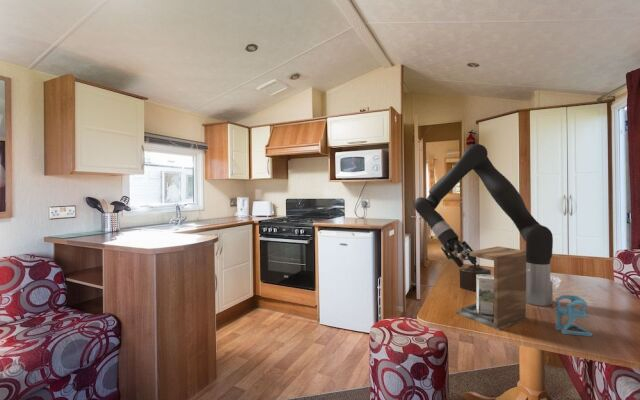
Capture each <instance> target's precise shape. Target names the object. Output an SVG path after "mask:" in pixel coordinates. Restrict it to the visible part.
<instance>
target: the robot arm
mask: <svg viewBox="0 0 640 400" xmlns="http://www.w3.org/2000/svg"><path fill="white" fill-rule="evenodd" d="M471 171H474V173H476V175H477V177H479V179H480V180H481V182H482V183H483V185H484V186H485V188H486V190H487V191H488V193H489V195H490V196H491V198H492V199H493V200H494V201H495V203H496V204H497V205H498V206H499V207H500V209H501V210H502V211H503V212H504V214H506V215H507V216H508V217H509V219H511V221H512V222H513V224H514V225H515V227H516V228H517V230H518V232H519V234H520V235H521V237H522V239H523V240H524V241H525V251H526V304H530V305H532V306H539V307H547V306H550V305H553V302H554V301H553V291H554V289H553V287H554V286H553V281H552V280H551V259H552V257H553V249H554V247H553V246H554V239H553V233H552V231H551V229H549V227H547V226H546V225H542V224H540V222H538V221H537V220H536V219H535V218H534V216H533V215H532V214H531V213H530V211H529V210H528V207H526V203H525V202H524V199H523V197H522V196H521V194H520V192H519V191H518V190H517V188H516V186H514V184H513V183H512V182H511V181H510V180H509V179H508V178H507V177H506V176H505V175H503V174H502V173H501V172H500V171H499V170H498V169H497V168H496V167H495V166H494V164H493V163H492V162H491V160H490V159H489V157H488V149H487V148H486V146H485V145H482V144H478V143H475V144H473V143H472V144H470V145H469V146H468V147H467V148H465V150H464V152H463V155H462V156H461V157H460V158H459V160H458V161H457V162H456V163H455V164H454V165H453V167H451V169H450V170H448V171H447V172H446V173H445V174H444V175H443V176H442V177H440V178H439V180H437V182H435V184H434V185H433V186H431V188H429V191H428V193H429V195H428V196H427V197H426V198H425V197H417V198H416V199H415V200H414V203H413V206H414V209H415V211H416V212H417V213H418V215H420V217H421V218H422V219H423V220H424V221H425V222H426V224H427V225H428V226H429V228H430V229H431V230H432V232H433V235H434V236H435V237H436V239H437V240H438V241H439V243H440V244H441V245H442V246H441V247H440V249H441V251H442V253H444V255H445V257H446V258H447V259H448V260H452V261H454V263H455V264H456V266H458V268H463V266H464V262H462V261H463V260H461V259H460V257H459V256H458V254H460V255H461V254H462V255H465V256H467V257H466V258H468V259H469V260H468V261H469V262H470V263H471V265H474V264H475V263H476V264H477V262H478V261H477V259H475V258H474V257H473V256H470V252H471V251H474V250H473V248H472V247H471V246H470V245H469V243H467V241H465V240H463V241H462V242H461V241H460V240H459V238H460V237H459V235H458V234H457V233H456V232H455V231H454V229H453V227H451V225H450V224H449V223H448V222H447V221H446V219H444V218H443V216H442V215H441V214H440V213H439V212H438V211H437V210H436V209H437V207H438V206H439V204H440V202H441V201H442V200H443V199H444V198H445V197H446V196H447V195H448V194H449V193H450V192H451V191H452V190H453V189H454V188H455V187H456V186H457V184H458V183H459V182H460V181H462V179H463V178H464V177H465V176H466V175H468V173H470V172H471ZM463 249H464V250H463ZM465 252H466V253H465ZM462 255H461V256H462Z"/></svg>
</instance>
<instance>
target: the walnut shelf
mask: <svg viewBox="0 0 640 400" xmlns="http://www.w3.org/2000/svg"><path fill="white" fill-rule="evenodd" d="M470 256H474V257H476V258H479V259H484V260H490V261H493V277H494V315H485V314H480V313H478V311H477V308H476V303H474V304H473V303H471V304H470V305H467V306H463V307H461V309H460V310H457V311H455V314H458V315H460V316H462V317H464V318H468V319H470V320H473V321H475V322H478V323H480V324H482V325H486V326H488V327H490V328H493V329H495V330H498V331H499V330H501V329H503V328H506V327H508V326H510V325H513V324H516V323H519V322H520V321H521V322H522V321H523V320H525V319H527V316H526V314H527V302H526V250H524V249H519V248H511V247H504V246H500V245H499V246H493V247H489V248H482V249H477V250H473V251H471V252H470Z"/></svg>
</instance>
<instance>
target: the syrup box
mask: <svg viewBox="0 0 640 400" xmlns="http://www.w3.org/2000/svg"><path fill="white" fill-rule="evenodd" d="M475 294H476V296H475V297H476V298H475V299H476V300H475V304H476V308H477V311H478V313H480V314H485V315H494V275H492V274H491V275H485V274H476V292H475Z"/></svg>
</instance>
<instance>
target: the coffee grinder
mask: <svg viewBox="0 0 640 400" xmlns="http://www.w3.org/2000/svg"><path fill="white" fill-rule="evenodd" d="M463 250H464V249H463ZM465 253H466V252H465ZM460 255H461V258H462V260H461V261H469V259H468V258H467V256H465V255H462V254H460ZM473 257H474V256H473ZM474 258H475V259H476V260H477V258H478V257H474ZM476 274H485V275H492V270H491V269H488V268H485V267H482V266H480V264H479V263H477V262H476V263H475V264H471V265H469V266H466V267H462V268H460V269H459V288H460V289H463V290H466V291H469V292H473V293H476Z"/></svg>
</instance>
